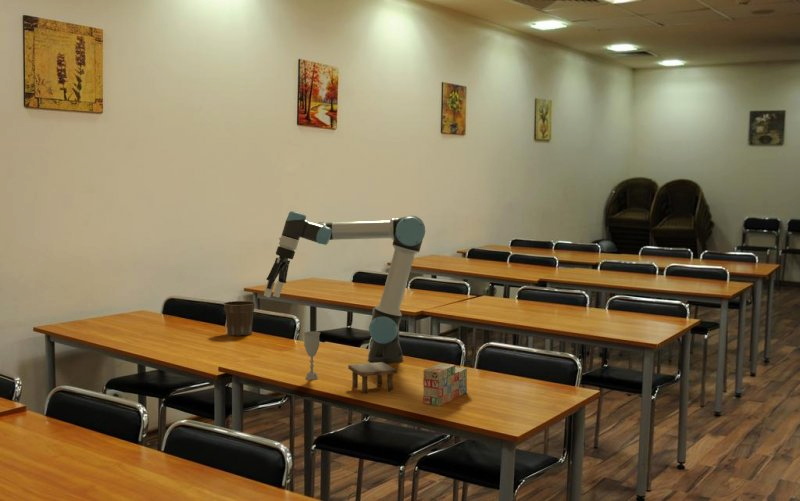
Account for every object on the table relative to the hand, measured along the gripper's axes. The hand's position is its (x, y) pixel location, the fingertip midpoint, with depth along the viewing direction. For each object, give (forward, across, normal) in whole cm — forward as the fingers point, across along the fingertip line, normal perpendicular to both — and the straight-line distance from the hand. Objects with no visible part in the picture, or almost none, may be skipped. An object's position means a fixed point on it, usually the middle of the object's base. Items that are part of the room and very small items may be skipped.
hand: (271, 296), depth 333 cm
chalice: (+25, +13, +29) cm, 40 cm away
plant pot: (+29, -74, -30) cm, 85 cm away
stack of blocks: (+12, +35, +82) cm, 90 cm away
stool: (+19, +25, +55) cm, 63 cm away
